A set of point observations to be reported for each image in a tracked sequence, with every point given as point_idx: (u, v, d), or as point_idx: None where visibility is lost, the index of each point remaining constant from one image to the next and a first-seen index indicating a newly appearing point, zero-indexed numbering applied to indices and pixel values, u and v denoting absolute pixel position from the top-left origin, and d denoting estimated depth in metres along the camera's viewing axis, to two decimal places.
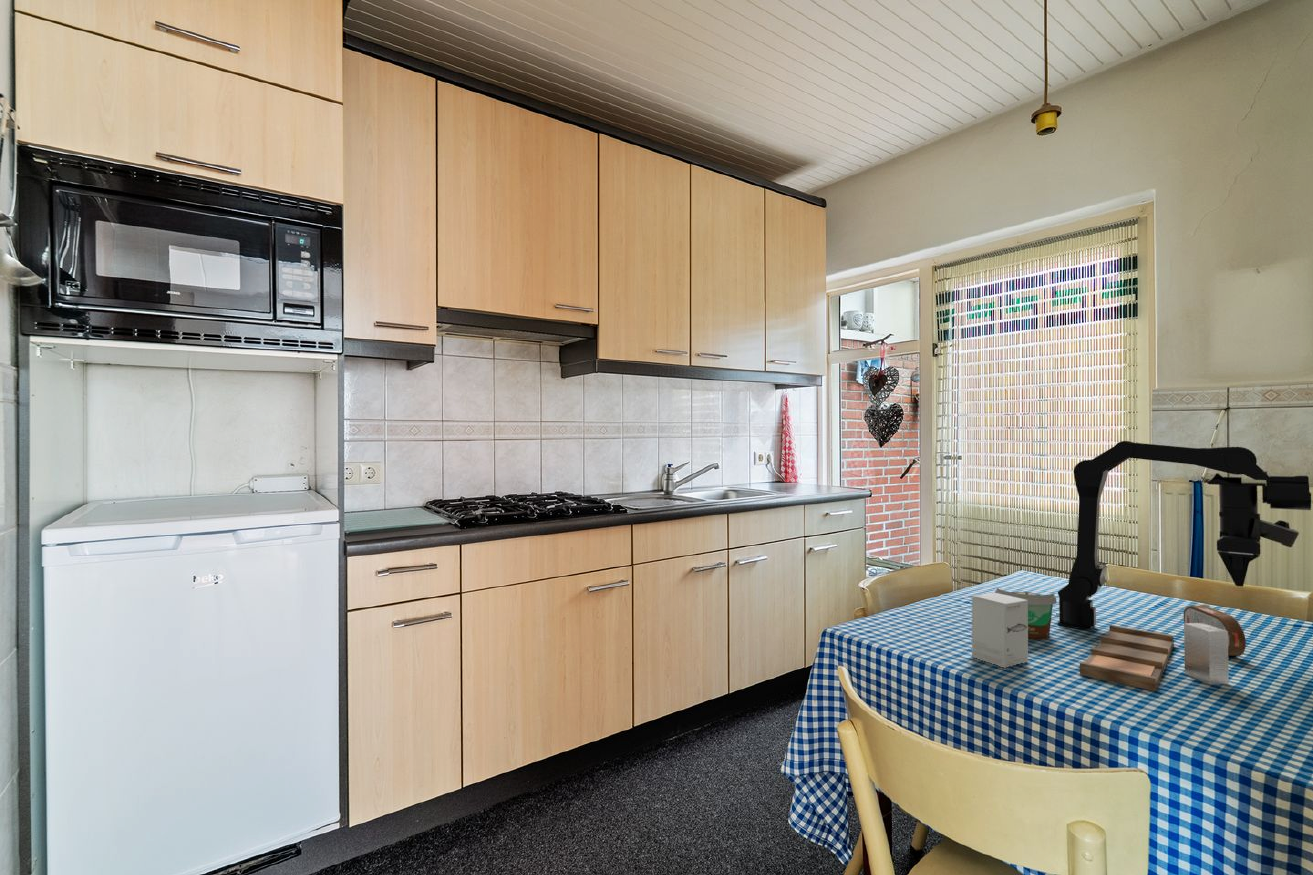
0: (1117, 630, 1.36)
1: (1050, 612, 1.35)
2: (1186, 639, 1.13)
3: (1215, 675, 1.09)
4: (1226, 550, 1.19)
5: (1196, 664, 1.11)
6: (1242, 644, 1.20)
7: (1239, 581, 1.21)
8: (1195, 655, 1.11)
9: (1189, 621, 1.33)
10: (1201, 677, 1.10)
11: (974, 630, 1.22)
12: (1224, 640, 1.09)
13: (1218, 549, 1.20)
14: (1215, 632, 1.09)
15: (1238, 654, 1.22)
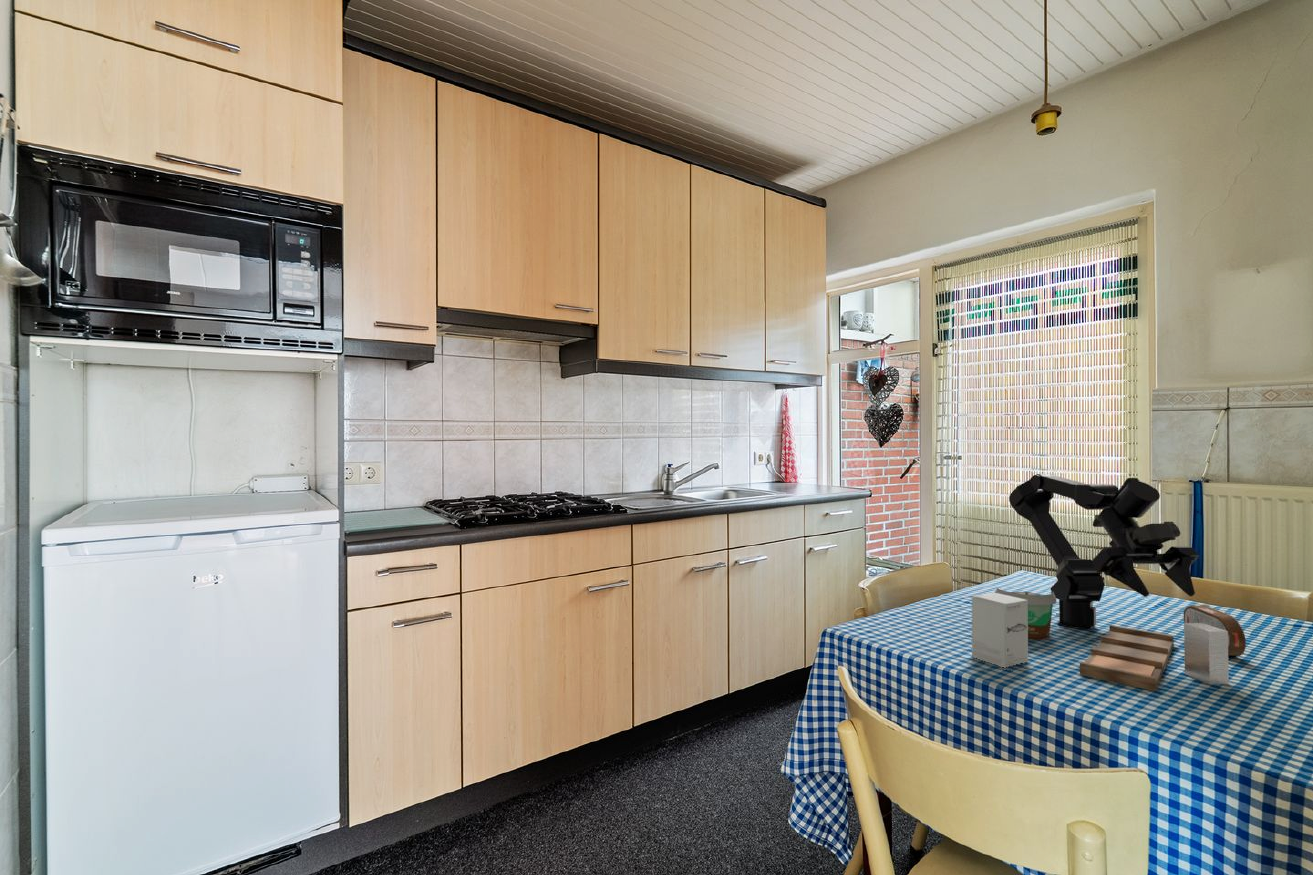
0: (1117, 630, 1.36)
1: (1050, 612, 1.35)
2: (1186, 639, 1.13)
3: (1215, 675, 1.09)
4: (1098, 567, 1.25)
5: (1196, 664, 1.11)
6: (1242, 644, 1.20)
7: (1141, 590, 1.19)
8: (1195, 655, 1.11)
9: (1189, 621, 1.33)
10: (1201, 677, 1.10)
11: (974, 630, 1.22)
12: (1224, 640, 1.09)
13: (1096, 570, 1.26)
14: (1215, 632, 1.09)
15: (1238, 654, 1.22)
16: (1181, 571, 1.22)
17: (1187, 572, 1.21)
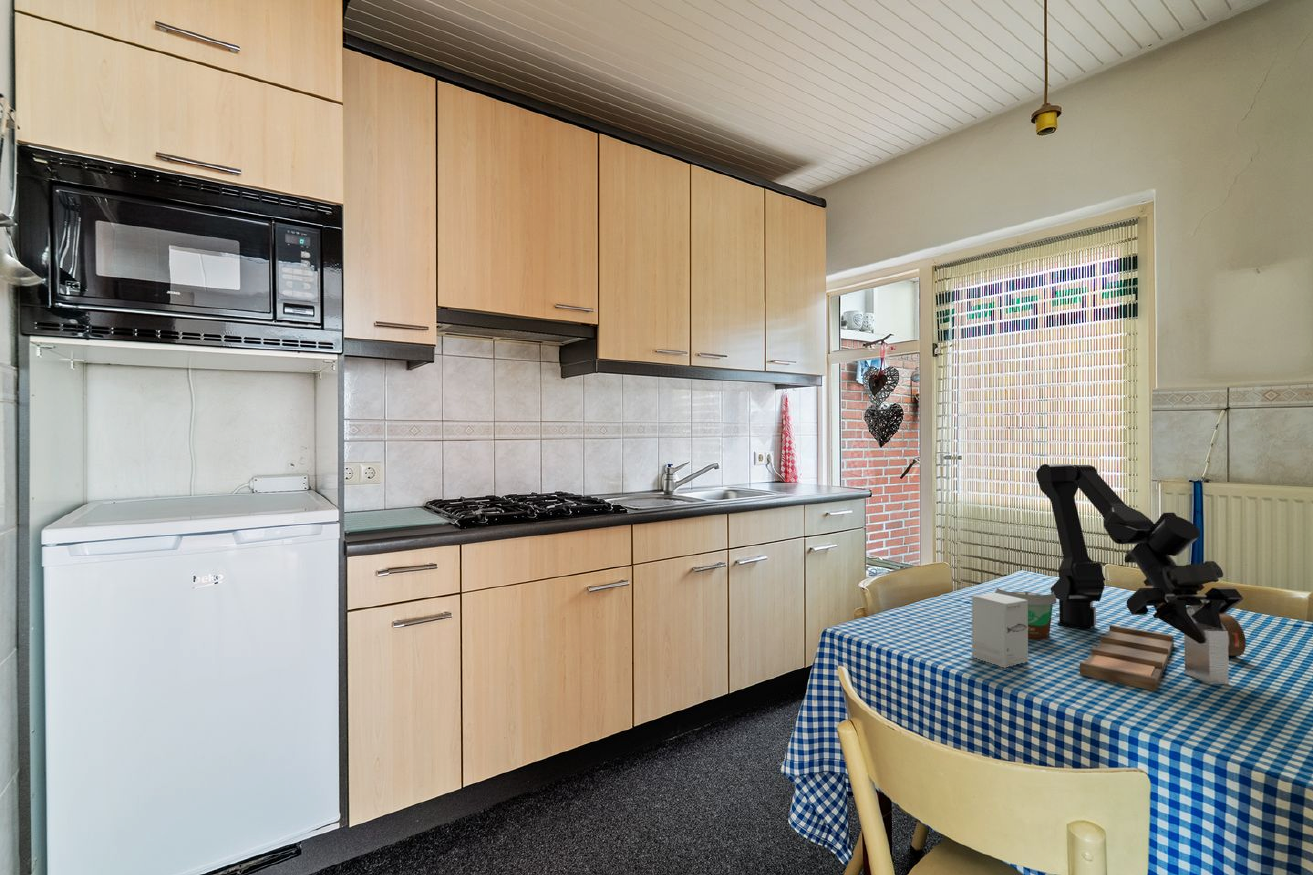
0: (1117, 630, 1.36)
1: (1050, 612, 1.35)
2: (1186, 639, 1.13)
3: (1215, 674, 1.09)
4: (1133, 610, 1.16)
5: (1196, 664, 1.11)
6: (1242, 644, 1.20)
7: (1196, 636, 1.10)
8: (1195, 655, 1.11)
9: None
10: (1201, 677, 1.10)
11: (974, 630, 1.22)
12: (1224, 640, 1.09)
13: (1131, 613, 1.17)
14: (1215, 632, 1.09)
15: (1238, 654, 1.22)
16: (1210, 615, 1.13)
17: (1216, 616, 1.12)
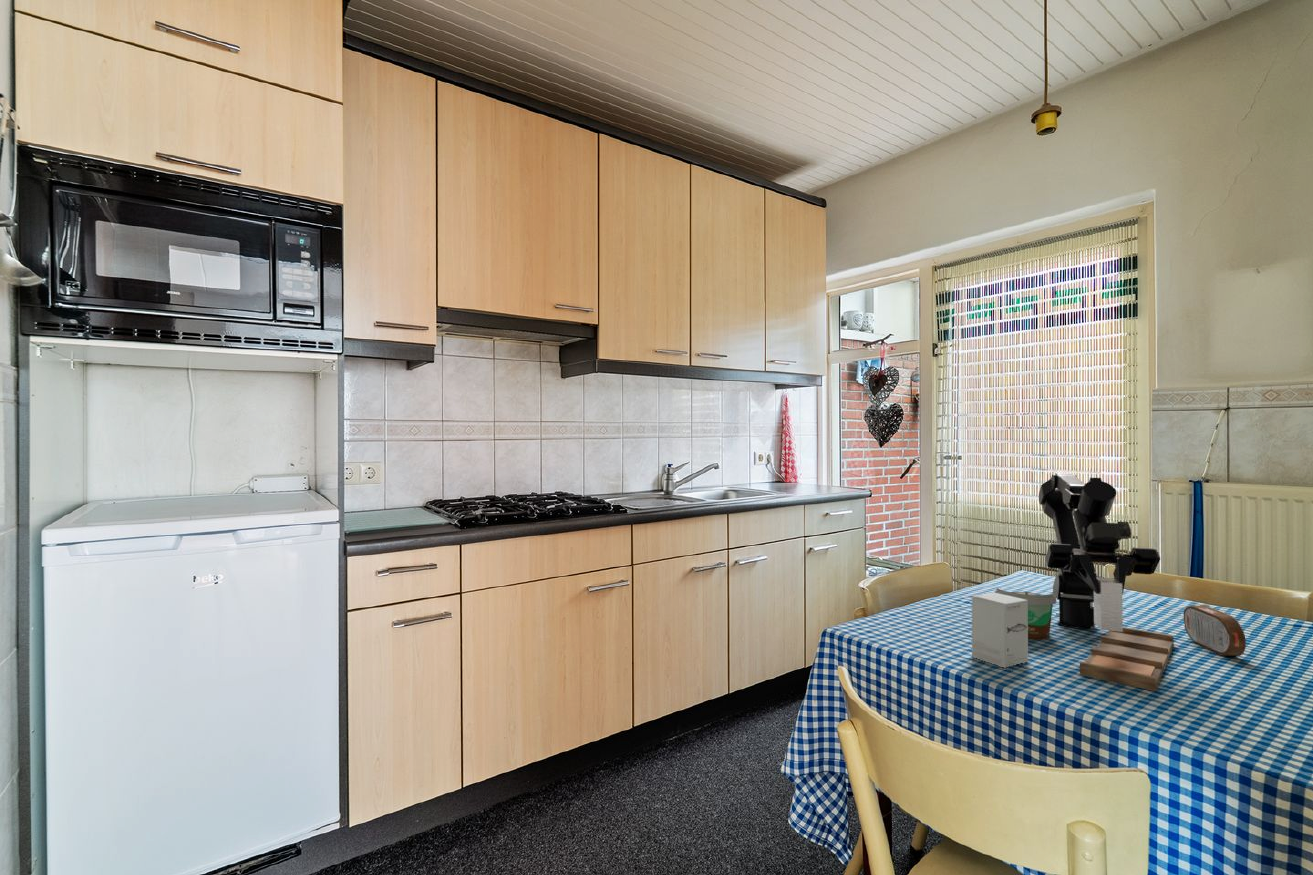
0: None
1: (1050, 612, 1.35)
2: None
3: (1107, 622, 1.20)
4: (1047, 563, 1.30)
5: (1097, 613, 1.22)
6: (1242, 644, 1.20)
7: (1094, 587, 1.22)
8: (1097, 604, 1.23)
9: (1189, 621, 1.33)
10: (1099, 624, 1.22)
11: (974, 630, 1.22)
12: (1118, 591, 1.19)
13: None
14: (1108, 583, 1.20)
15: (1238, 654, 1.22)
16: (1119, 571, 1.22)
17: (1123, 572, 1.21)
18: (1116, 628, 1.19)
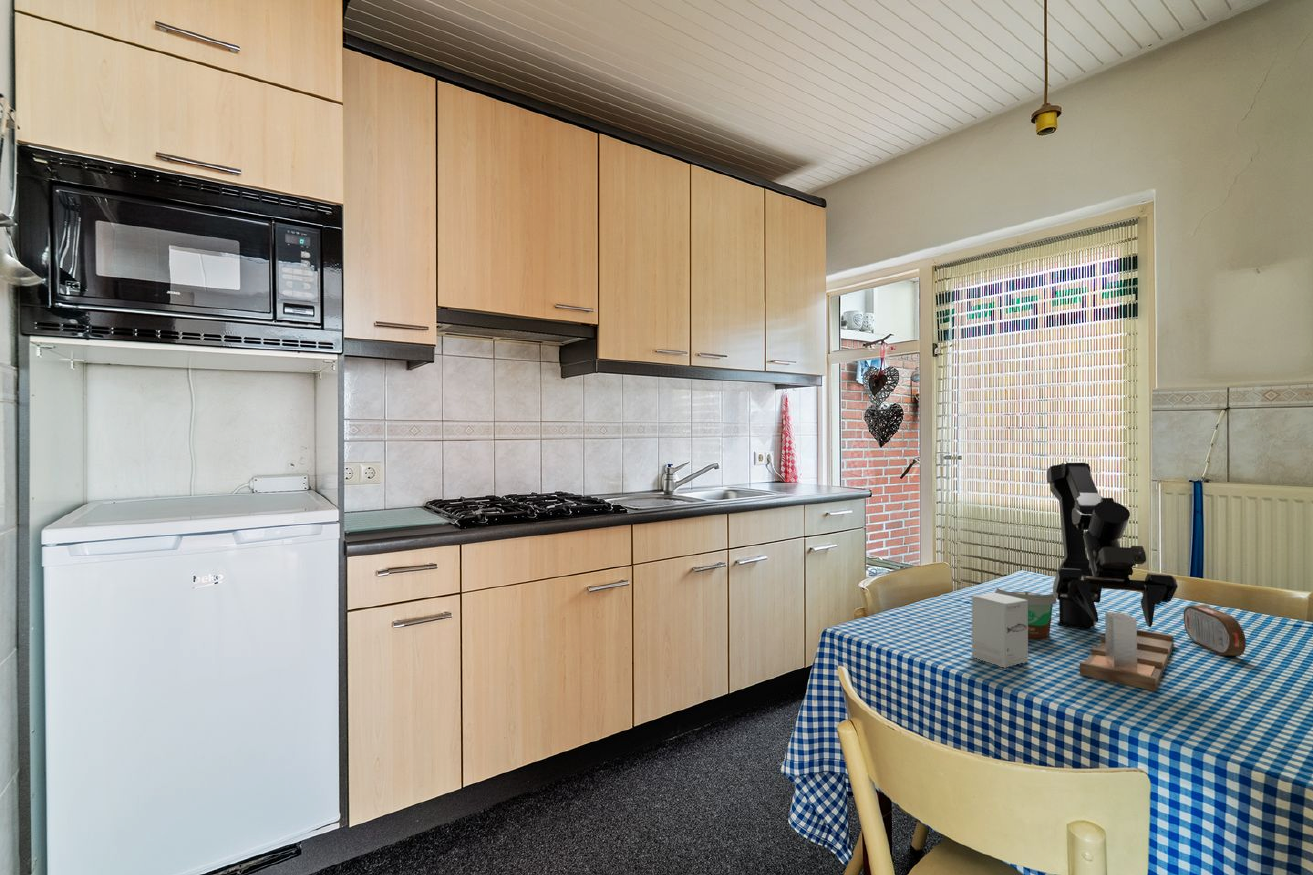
0: None
1: (1050, 612, 1.35)
2: (1106, 627, 1.16)
3: (1121, 661, 1.12)
4: (1056, 588, 1.22)
5: (1109, 651, 1.14)
6: (1242, 644, 1.20)
7: (1092, 615, 1.15)
8: (1109, 642, 1.15)
9: (1189, 621, 1.33)
10: (1111, 663, 1.13)
11: (974, 630, 1.22)
12: (1132, 629, 1.11)
13: None
14: (1121, 620, 1.12)
15: (1238, 654, 1.22)
16: (1147, 600, 1.13)
17: (1152, 601, 1.12)
18: (1130, 668, 1.11)
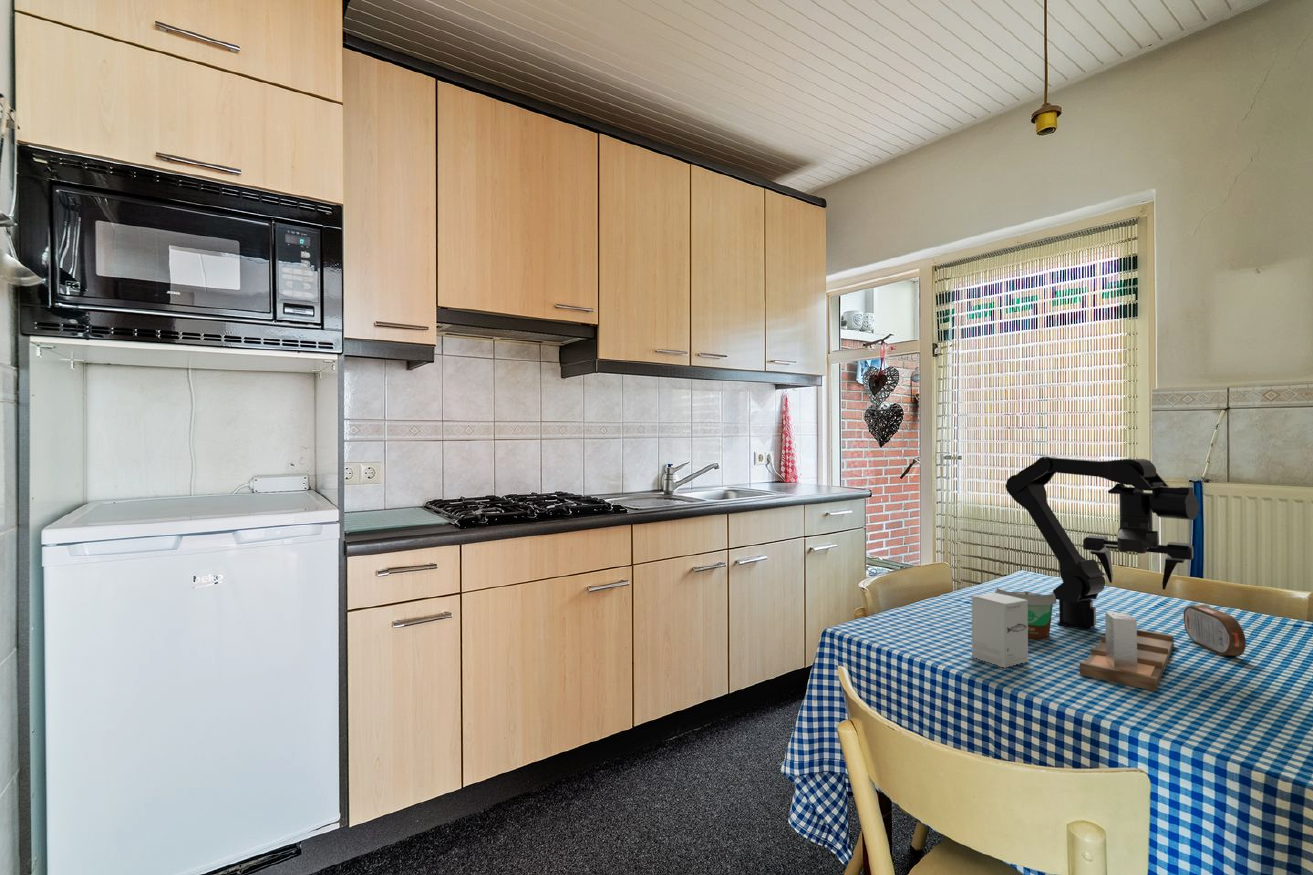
0: None
1: (1050, 612, 1.35)
2: (1106, 627, 1.16)
3: (1121, 661, 1.12)
4: None
5: (1109, 651, 1.14)
6: (1242, 644, 1.20)
7: (1108, 577, 1.37)
8: (1109, 642, 1.15)
9: (1189, 621, 1.33)
10: (1111, 663, 1.13)
11: (974, 630, 1.22)
12: (1132, 629, 1.11)
13: None
14: (1121, 620, 1.12)
15: (1238, 654, 1.22)
16: None
17: (1169, 570, 1.28)
18: (1130, 668, 1.11)
